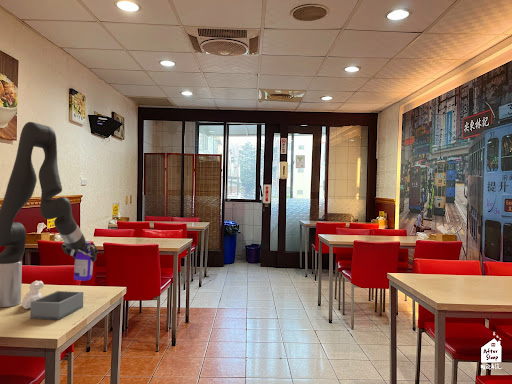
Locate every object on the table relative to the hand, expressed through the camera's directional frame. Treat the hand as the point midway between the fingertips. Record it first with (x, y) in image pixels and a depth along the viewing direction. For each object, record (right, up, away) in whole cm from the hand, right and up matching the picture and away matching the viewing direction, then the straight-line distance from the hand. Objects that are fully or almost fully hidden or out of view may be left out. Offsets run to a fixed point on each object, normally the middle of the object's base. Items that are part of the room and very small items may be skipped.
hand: (85, 259), depth 165 cm
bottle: (-1, -9, -2) cm, 9 cm away
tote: (-1, -16, -21) cm, 27 cm away
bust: (-15, -17, -14) cm, 27 cm away
